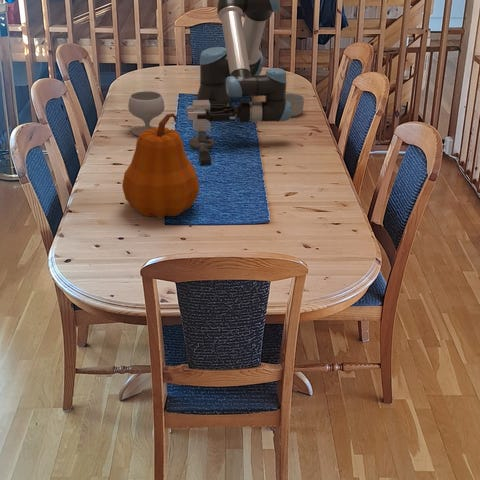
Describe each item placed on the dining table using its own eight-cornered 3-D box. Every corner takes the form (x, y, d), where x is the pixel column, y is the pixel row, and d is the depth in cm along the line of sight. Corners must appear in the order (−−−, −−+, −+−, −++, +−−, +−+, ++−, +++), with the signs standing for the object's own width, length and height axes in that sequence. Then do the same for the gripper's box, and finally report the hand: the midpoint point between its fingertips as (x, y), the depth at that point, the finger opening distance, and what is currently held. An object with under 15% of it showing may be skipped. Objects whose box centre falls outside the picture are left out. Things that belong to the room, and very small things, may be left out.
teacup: (303, 111, 325) (304, 93, 321) (303, 119, 316) (304, 100, 312) (271, 109, 326) (272, 91, 323) (269, 117, 317) (270, 99, 313)
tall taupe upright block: (193, 126, 285) (192, 100, 280) (208, 125, 285) (208, 99, 281) (194, 131, 279) (193, 105, 275) (210, 130, 280) (210, 104, 276)
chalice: (122, 134, 295) (120, 97, 288) (142, 124, 306) (141, 88, 299) (152, 141, 290) (151, 103, 283) (172, 130, 301) (171, 93, 294)
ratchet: (189, 142, 289) (189, 127, 287) (212, 141, 290) (212, 126, 288) (193, 165, 268) (193, 149, 265) (218, 164, 269) (218, 149, 266)
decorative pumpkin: (161, 187, 251) (158, 99, 237) (215, 207, 238) (215, 115, 224) (107, 210, 235) (101, 117, 221) (162, 233, 221) (158, 136, 207)
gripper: (252, 129, 275) (189, 131, 272) (245, 113, 292) (186, 115, 289) (253, 109, 272) (188, 111, 269) (246, 94, 288) (185, 96, 286)
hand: (187, 113), depth 279 cm, fingers closed on tall taupe upright block, 6 cm apart
